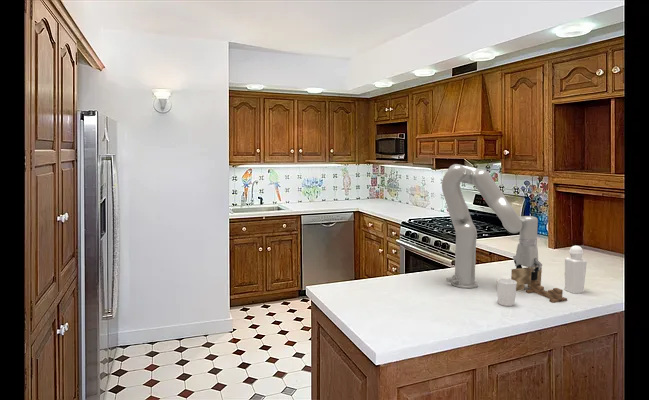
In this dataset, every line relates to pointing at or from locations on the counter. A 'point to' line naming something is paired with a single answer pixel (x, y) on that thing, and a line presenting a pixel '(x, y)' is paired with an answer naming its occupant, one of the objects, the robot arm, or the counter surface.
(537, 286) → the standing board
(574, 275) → the white tall bottle shape
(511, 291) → the white cup
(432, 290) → the counter surface
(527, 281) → the slotted board
